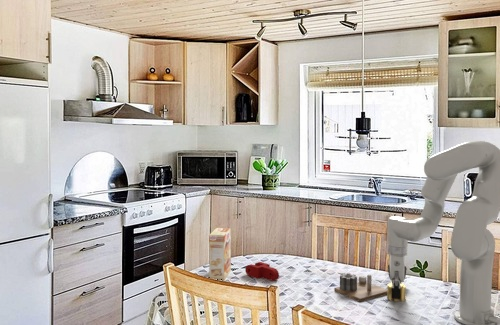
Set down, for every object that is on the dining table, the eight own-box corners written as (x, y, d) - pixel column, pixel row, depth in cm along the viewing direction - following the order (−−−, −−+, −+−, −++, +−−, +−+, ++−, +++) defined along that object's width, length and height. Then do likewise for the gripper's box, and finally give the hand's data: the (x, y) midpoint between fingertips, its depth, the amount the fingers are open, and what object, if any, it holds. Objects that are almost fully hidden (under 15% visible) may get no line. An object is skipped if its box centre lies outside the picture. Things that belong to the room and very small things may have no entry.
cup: (407, 288, 190) (407, 269, 189) (388, 287, 192) (388, 268, 191) (405, 282, 197) (405, 264, 197) (386, 281, 199) (387, 263, 198)
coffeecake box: (224, 280, 202) (224, 235, 200) (208, 279, 203) (208, 234, 202) (231, 270, 217) (231, 227, 215) (216, 269, 218) (216, 227, 216)
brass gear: (405, 296, 182) (405, 283, 182) (405, 302, 176) (406, 289, 175) (387, 294, 184) (387, 282, 183) (387, 300, 177) (387, 287, 177)
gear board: (389, 293, 185) (389, 275, 184) (359, 301, 176) (360, 282, 176) (363, 283, 197) (363, 266, 196) (334, 290, 188) (334, 273, 188)
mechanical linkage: (245, 275, 210) (245, 264, 209) (257, 271, 215) (257, 260, 214) (271, 283, 198) (271, 272, 198) (282, 279, 203) (282, 268, 203)
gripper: (408, 256, 169) (407, 303, 170) (406, 244, 186) (405, 287, 187) (386, 255, 171) (385, 301, 172) (386, 243, 188) (385, 285, 189)
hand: (395, 294), depth 180 cm, fingers open, 9 cm apart
